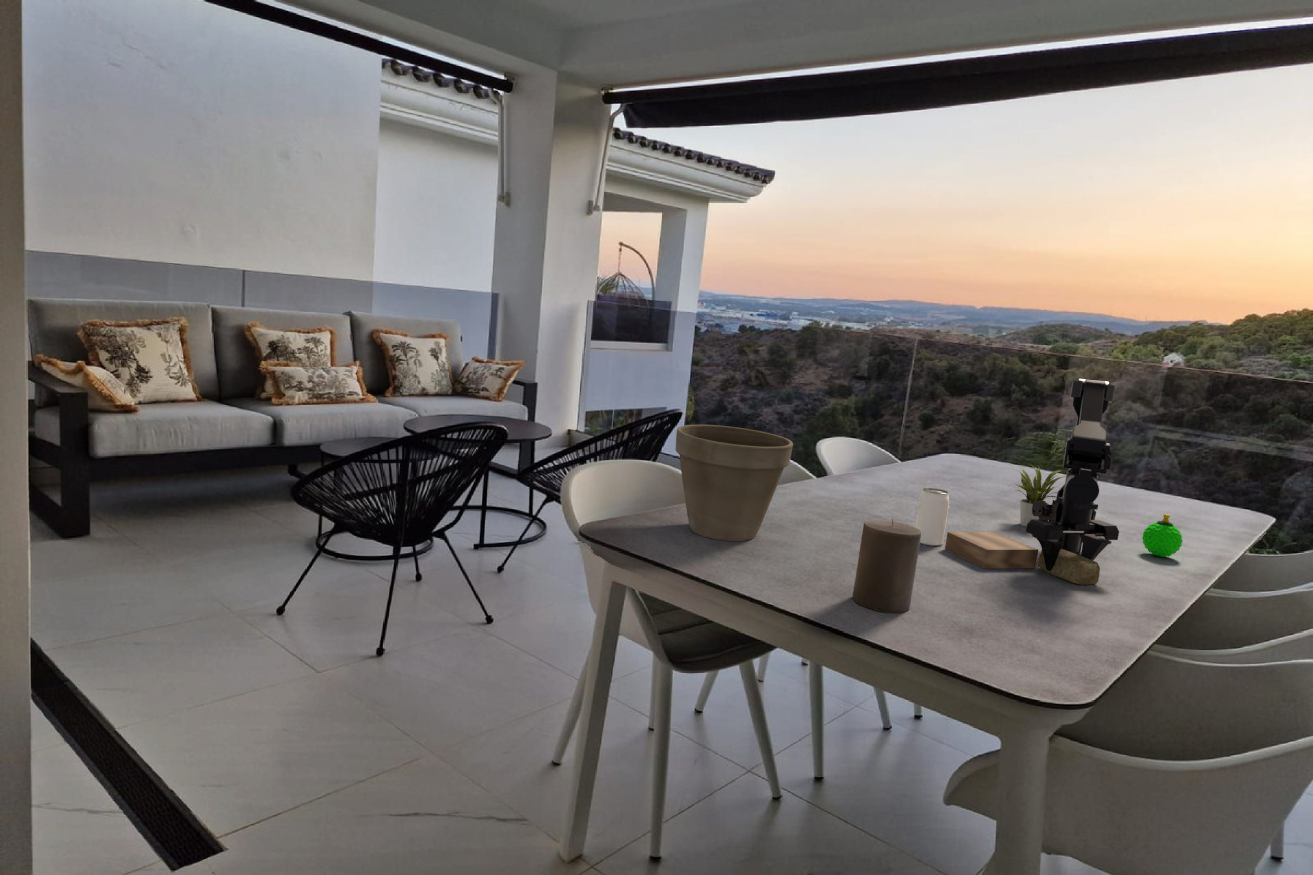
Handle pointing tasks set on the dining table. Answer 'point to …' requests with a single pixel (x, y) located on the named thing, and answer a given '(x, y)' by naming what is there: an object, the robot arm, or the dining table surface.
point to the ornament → (1162, 538)
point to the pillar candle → (886, 566)
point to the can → (932, 516)
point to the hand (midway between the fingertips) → (1065, 570)
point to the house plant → (1034, 493)
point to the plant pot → (729, 478)
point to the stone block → (1073, 568)
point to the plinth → (991, 550)
